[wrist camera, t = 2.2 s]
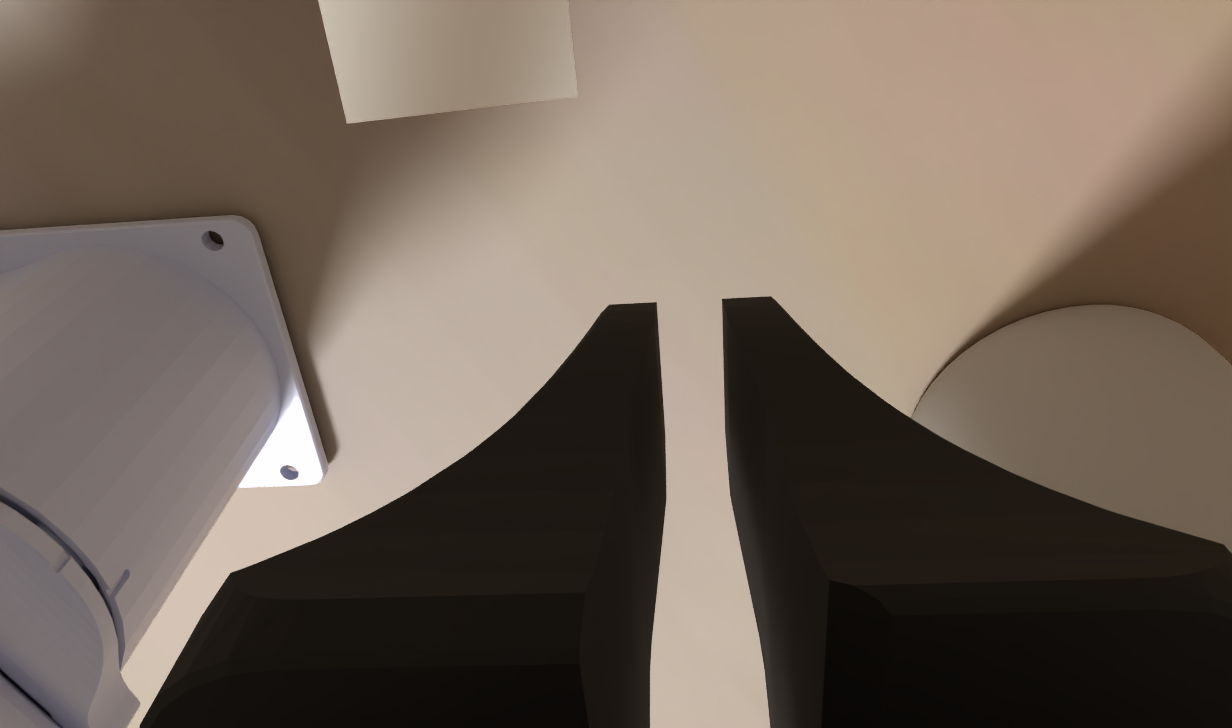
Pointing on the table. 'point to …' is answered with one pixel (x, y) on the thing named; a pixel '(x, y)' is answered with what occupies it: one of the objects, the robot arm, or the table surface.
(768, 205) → the table surface
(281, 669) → the robot arm
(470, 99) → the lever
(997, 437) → the mug
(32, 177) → the table surface
